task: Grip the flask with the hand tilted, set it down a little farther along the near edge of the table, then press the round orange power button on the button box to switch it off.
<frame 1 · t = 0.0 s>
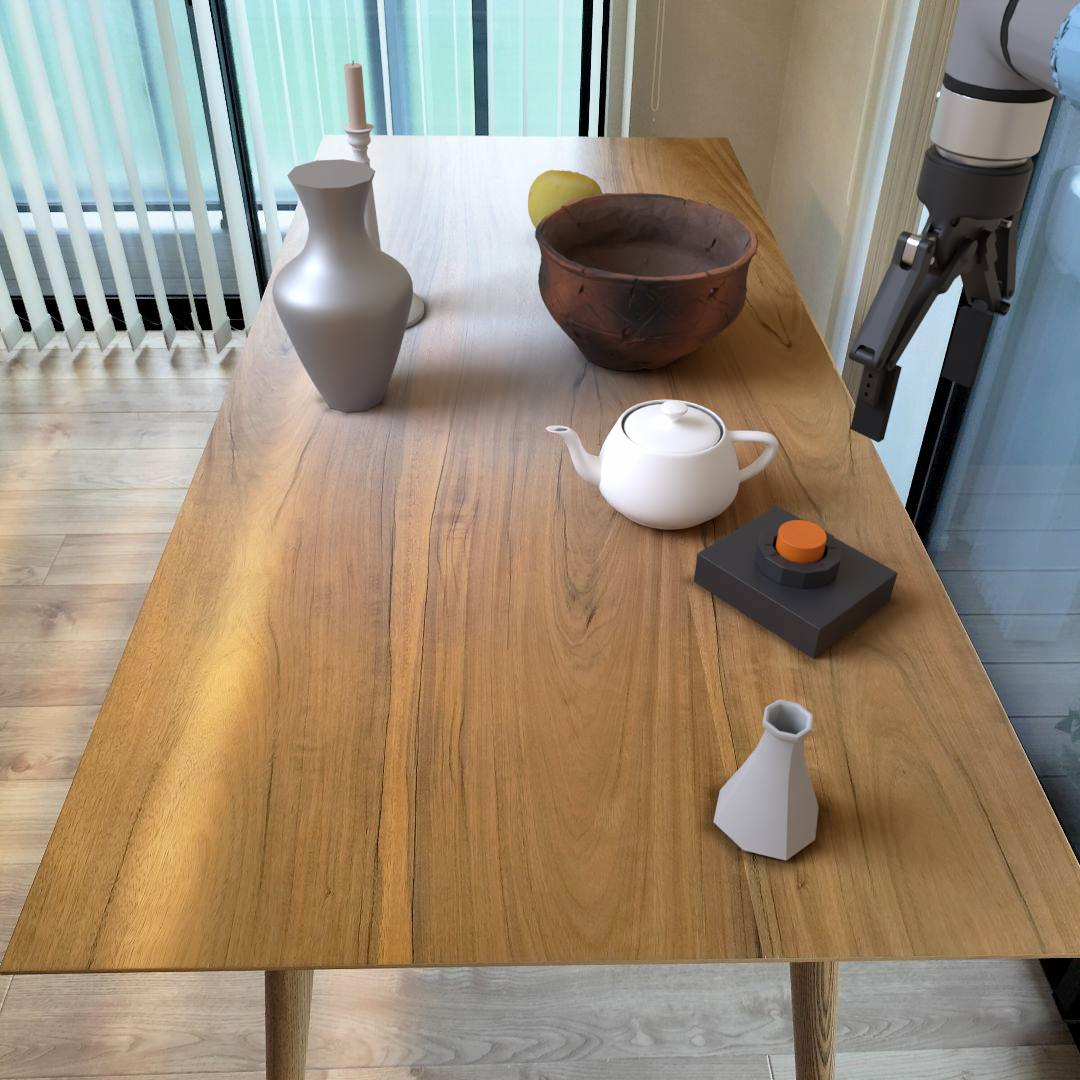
hand: (913, 406, 91), 15 cm above the table, tool pointing down, fingers open, 13 cm apart
vase: (354, 398, 120), on the table
bowl: (636, 352, 130), on the table
power button: (801, 542, 91), point 5 cm above the table, slide at 0.1 cm
teapot: (656, 503, 105), on the table
flask: (765, 818, 75), on the table
candlestick: (373, 313, 137), on the table
fruit: (564, 240, 157), on the table
button box: (790, 591, 95), on the table
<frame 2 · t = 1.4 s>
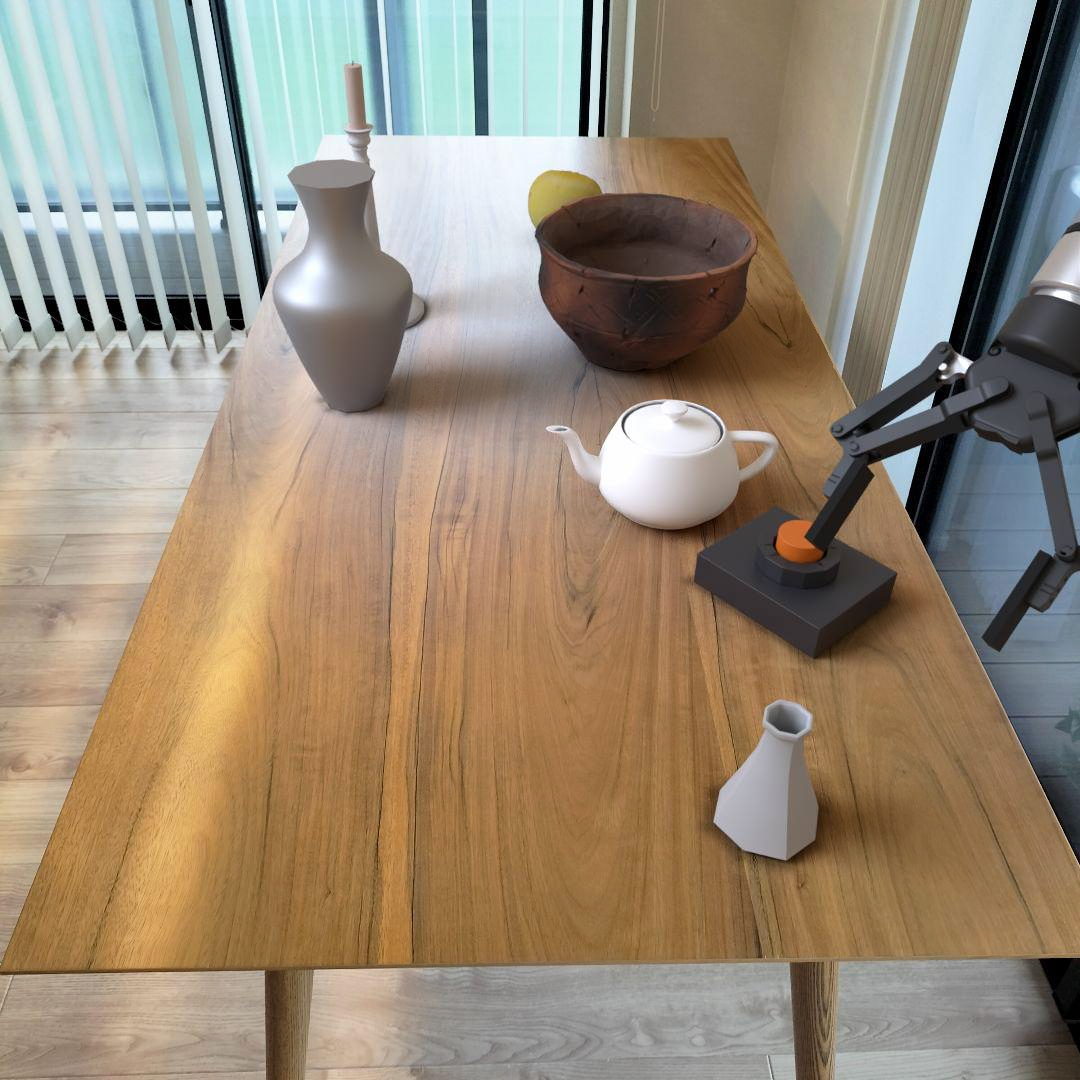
hand: (897, 592, 72), 15 cm above the table, tool tilted 45°, fingers open, 13 cm apart
nothing on the table moved.
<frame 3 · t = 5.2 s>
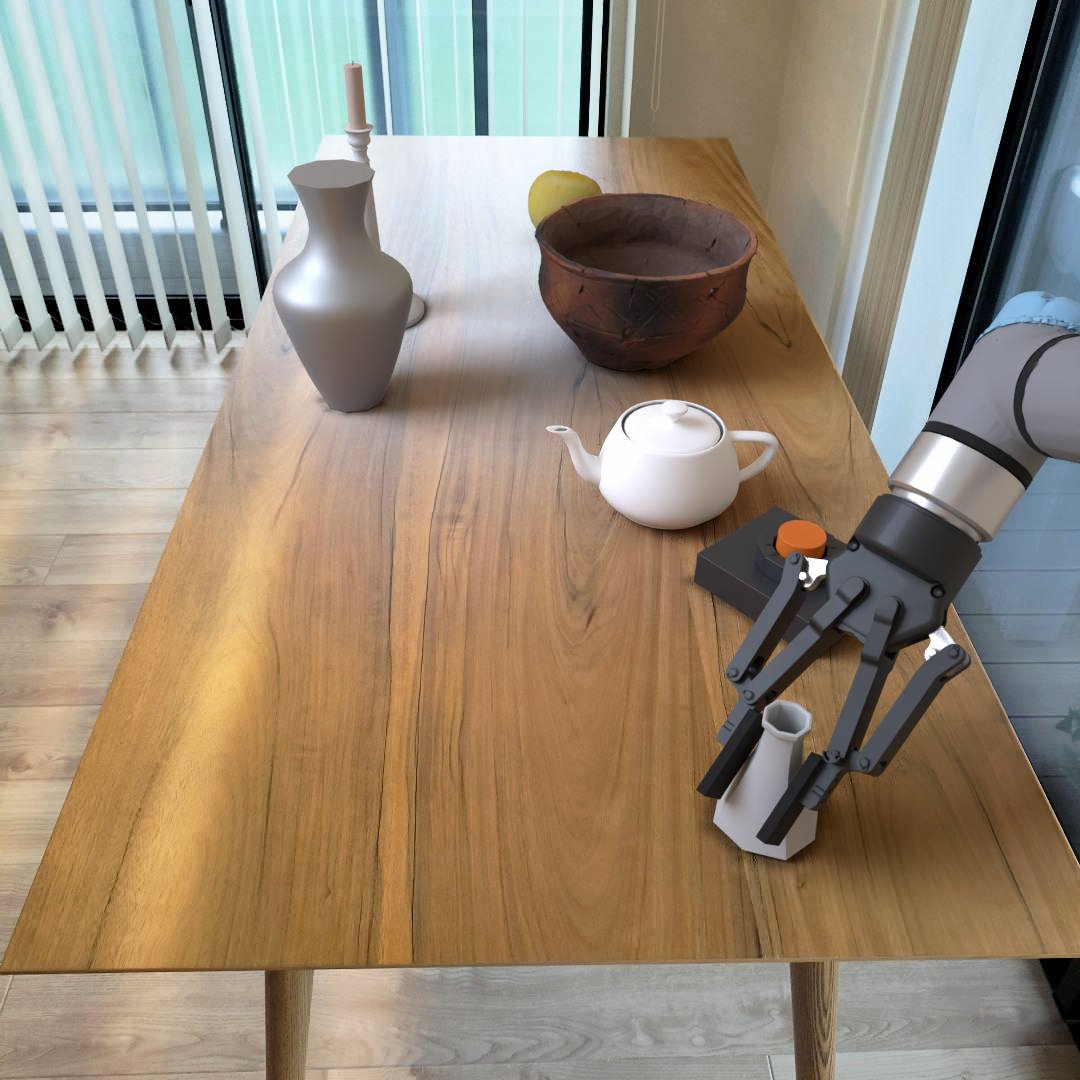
hand: (737, 817, 71), 3 cm above the table, tool tilted 45°, fingers closed on flask, 4 cm apart
flask: (765, 818, 75), on the table, touching gripper
everything else where it was.
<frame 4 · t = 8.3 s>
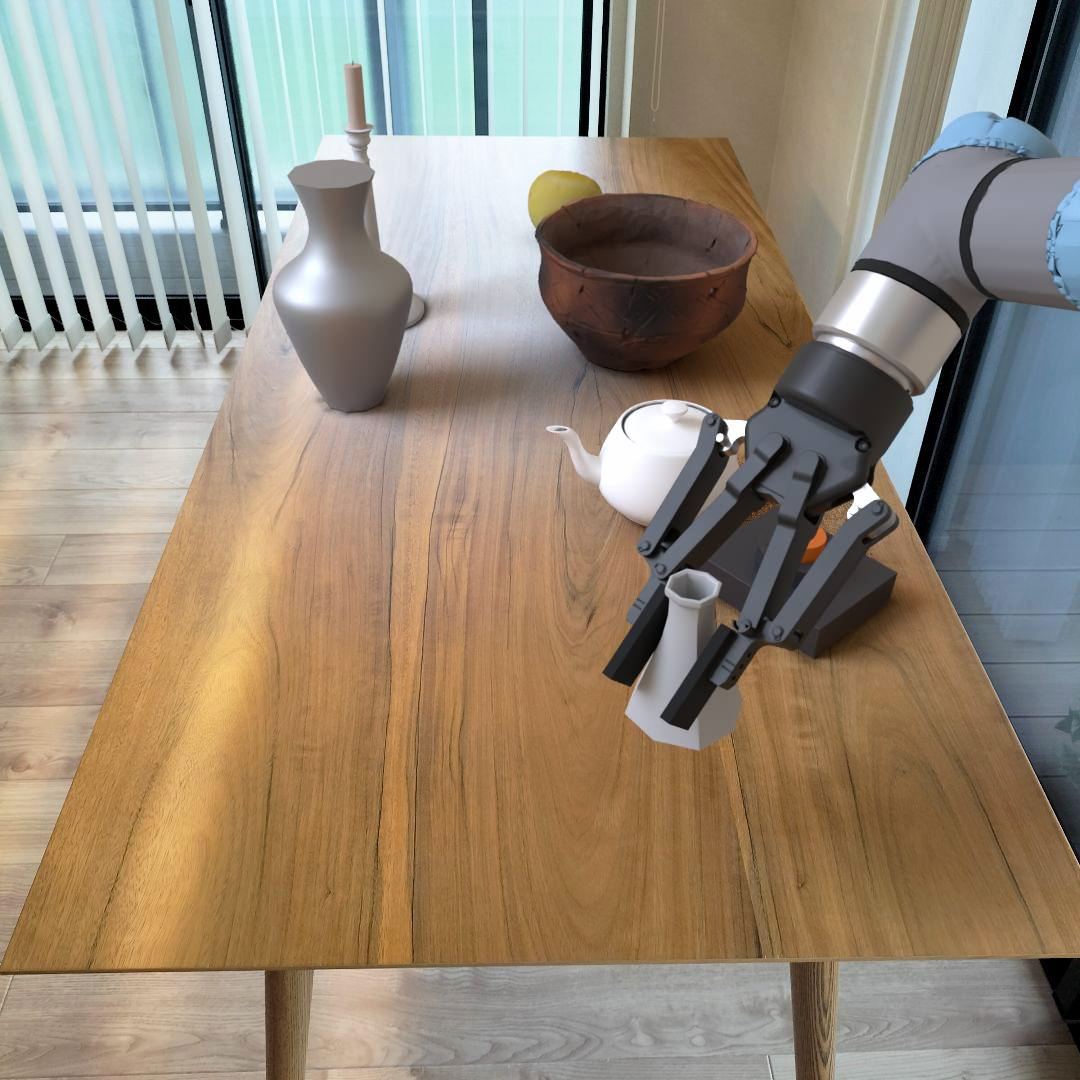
hand: (645, 700, 65), 14 cm above the table, tool tilted 45°, fingers closed on flask, 4 cm apart
flask: (683, 712, 69), point 10 cm above the table, touching gripper
everything else where it was.
when the fingers open (4 cm above the table, at t = 11.5 s): flask stays where it is, on the table.
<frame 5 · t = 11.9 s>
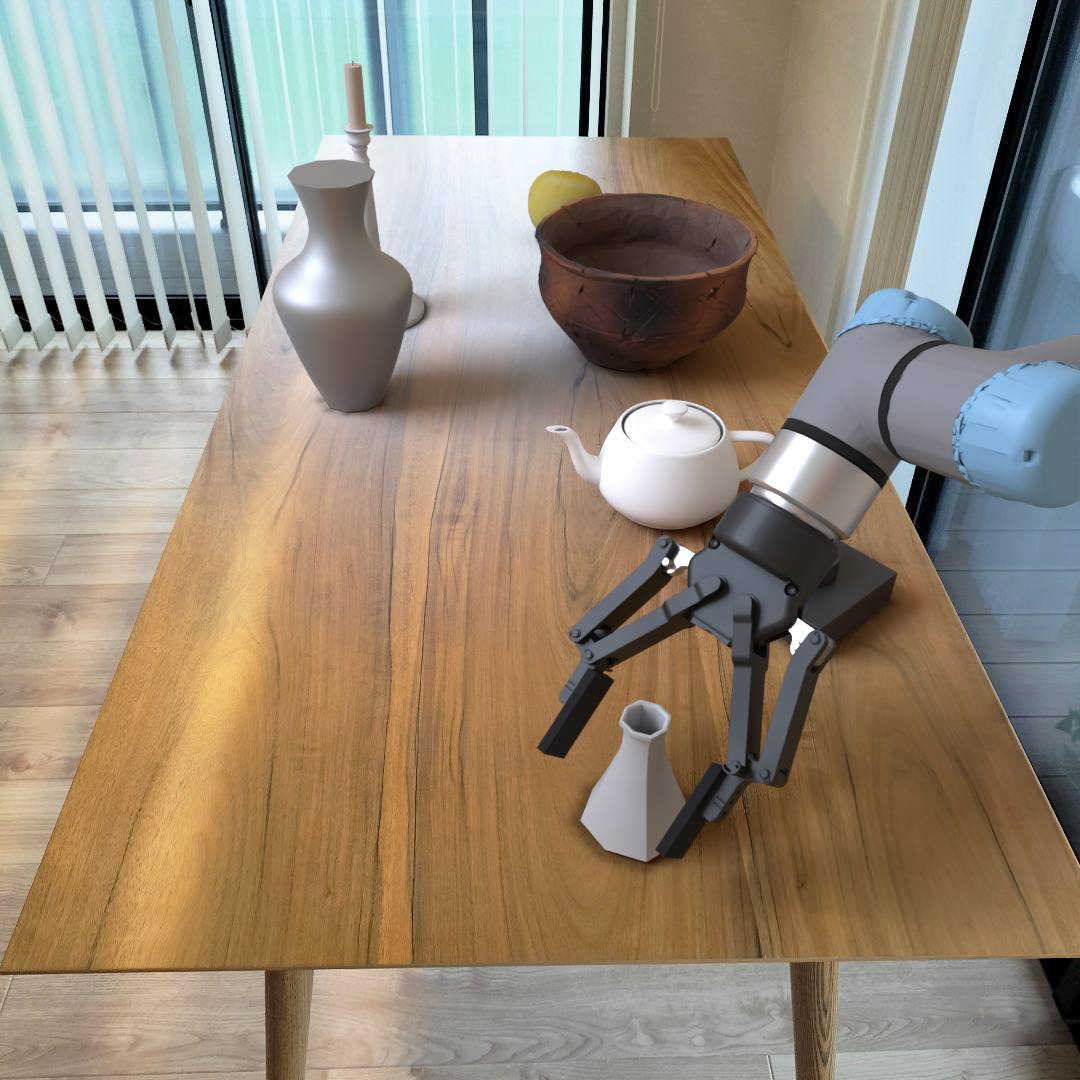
hand: (606, 801, 71), 4 cm above the table, tool tilted 45°, fingers open, 10 cm apart
flask: (634, 819, 75), on the table
everything else where it was.
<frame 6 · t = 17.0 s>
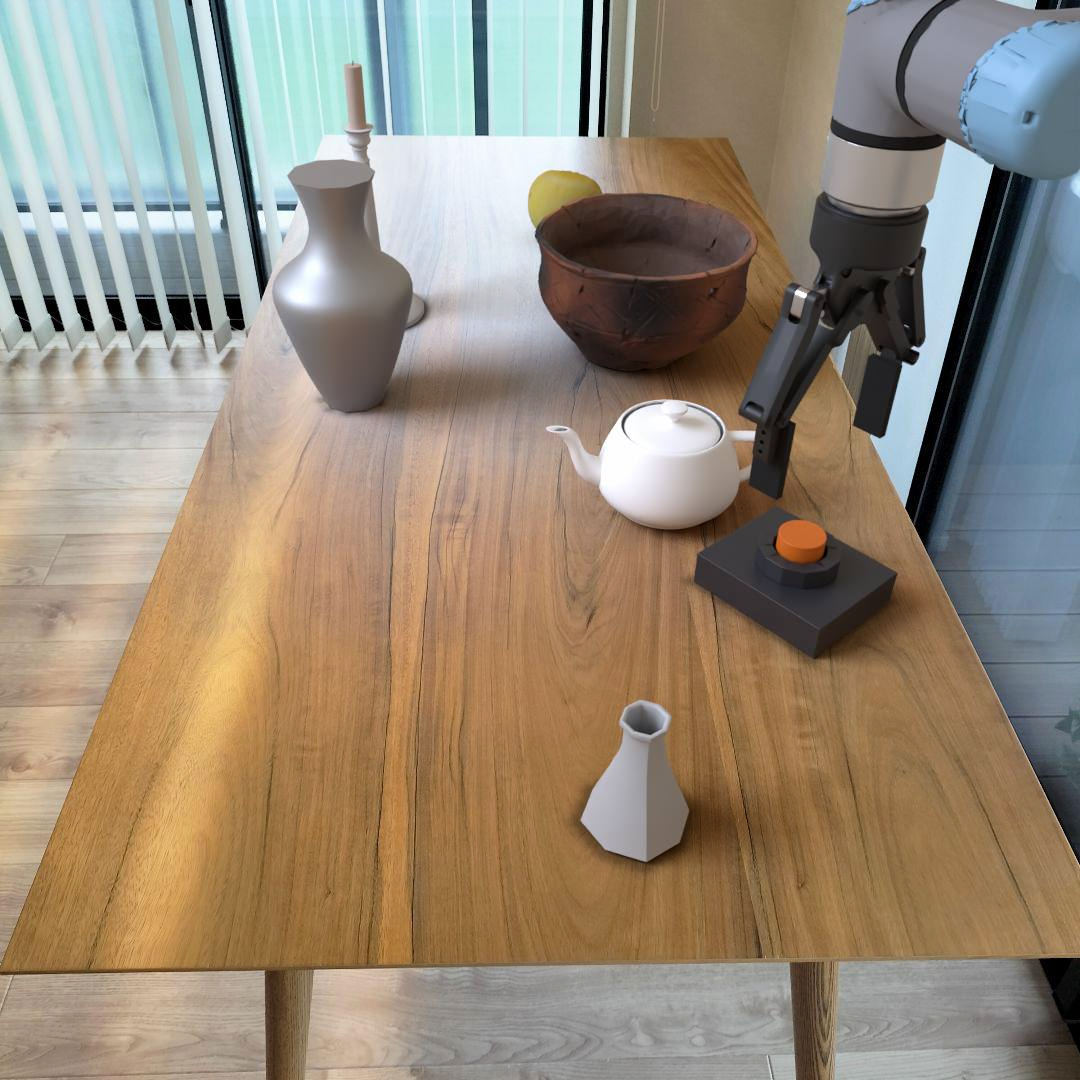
hand: (819, 460, 86), 14 cm above the table, tool pointing down, fingers open, 13 cm apart
nothing on the table moved.
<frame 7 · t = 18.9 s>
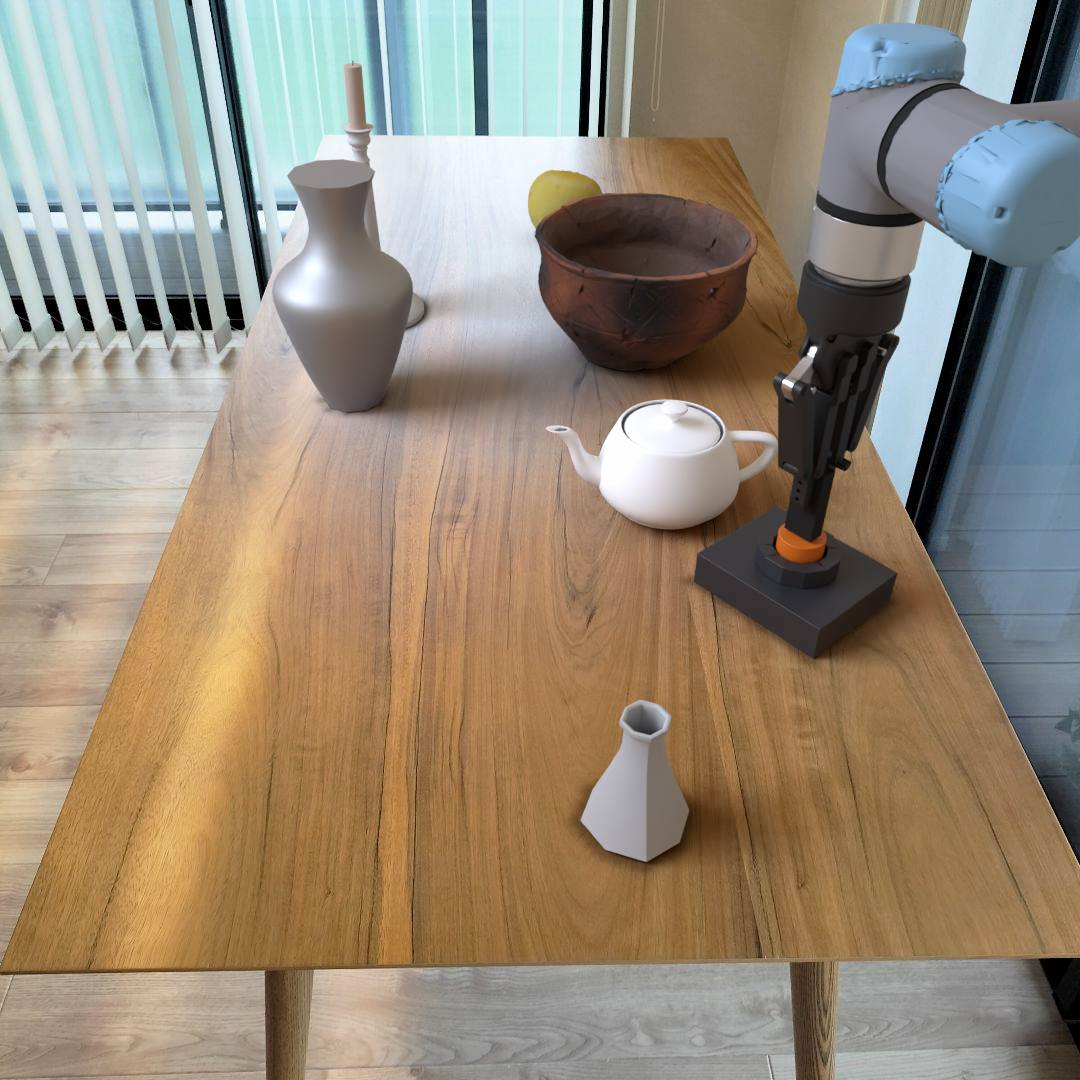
hand: (802, 531, 91), 7 cm above the table, tool pointing down, fingers closed
power button: (800, 542, 91), point 5 cm above the table, slide at 0.0 cm, touching gripper
everything else where it was.
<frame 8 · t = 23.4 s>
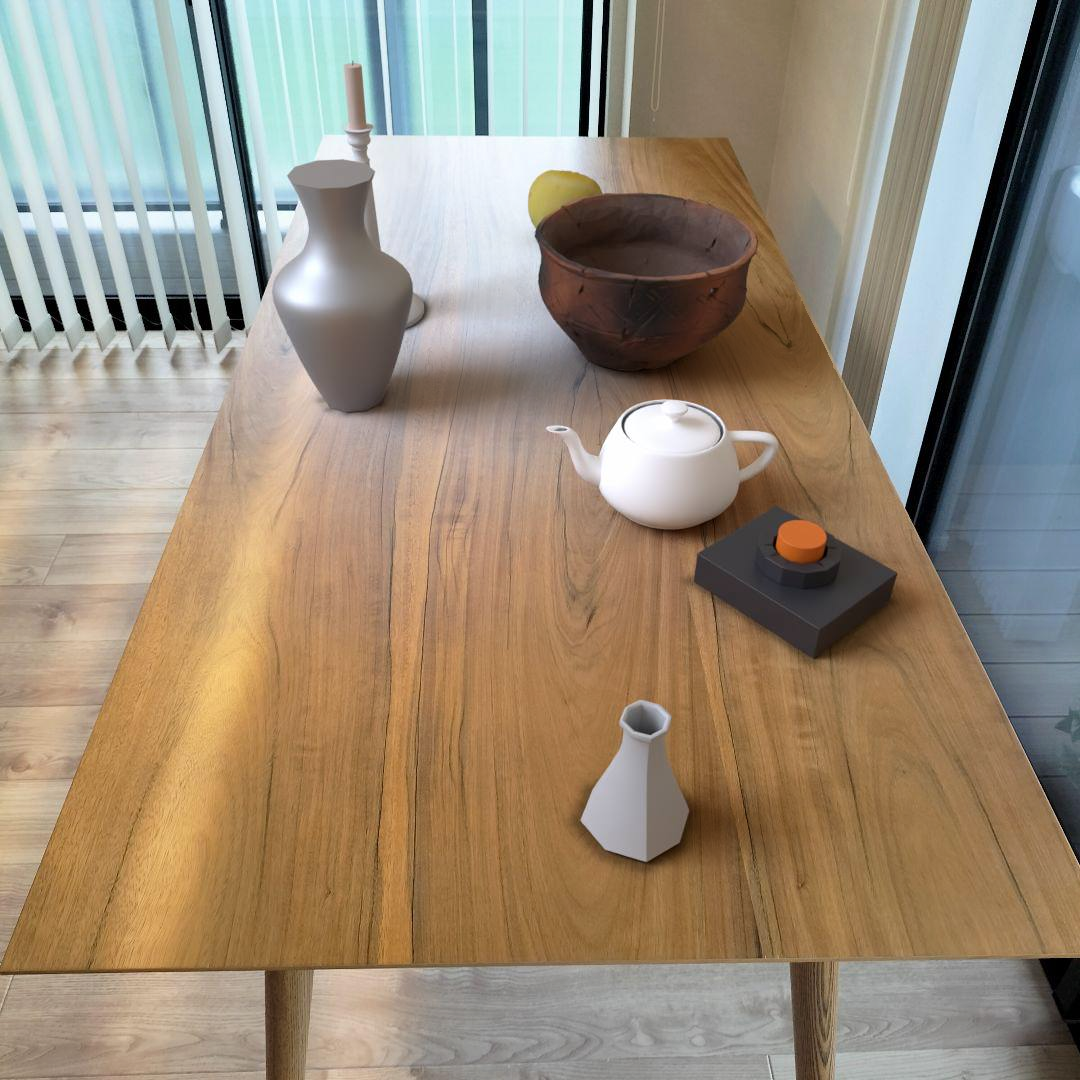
power button: (801, 542, 91), point 5 cm above the table, slide at 0.1 cm
everything else where it was.
at the end: power button pushed in 1.0 cm at the most during the clip, back to where it started at the end; flask inside the target area (0.1 cm from its centre), on the table; flask tilted 0° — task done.
